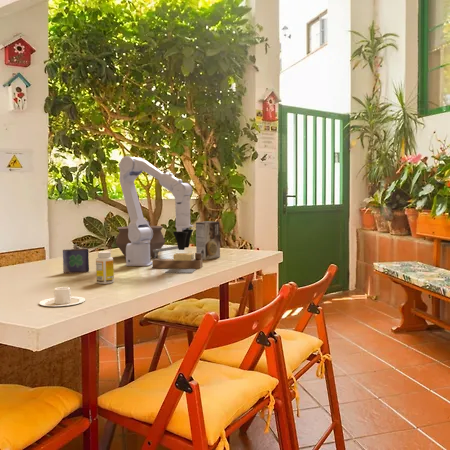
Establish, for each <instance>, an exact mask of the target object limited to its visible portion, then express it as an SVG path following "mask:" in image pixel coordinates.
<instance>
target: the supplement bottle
mask: <svg viewBox="0 0 450 450" xmlns="http://www.w3.org/2000/svg"><path fill="white" fill-rule="evenodd" d="M111 253H112V252H111V251H104V250H102V251H99V252H97V256H98V257H97V258H96V259H95V271H96V275H95V276H96V283H97V284H99V285H107V284H112V283H114V282H115V274H114V272H115V268H114V267H115V266H114V258H113V257H112V254H111Z"/></svg>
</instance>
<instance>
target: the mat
mask: <svg viewBox="0 0 450 450" xmlns="http://www.w3.org/2000/svg"><path fill="white" fill-rule="evenodd" d="M195 271H197V268H168V270H166V271H165V272H164V273H165V274H193V273H195Z"/></svg>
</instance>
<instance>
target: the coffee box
mask: <svg viewBox="0 0 450 450" xmlns="http://www.w3.org/2000/svg"><path fill="white" fill-rule="evenodd" d="M220 235H221V234H220V221H215V220H214V221H213V220H210V221H198V222H195V241H196V245H195V246H196V248H195V249H196V252H195V253H201V259H202V260H211V259H217V258H221V243H220V241H221V240H220V239H221V237H220Z"/></svg>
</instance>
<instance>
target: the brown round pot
mask: <svg viewBox="0 0 450 450" xmlns="http://www.w3.org/2000/svg"><path fill="white" fill-rule="evenodd" d="M146 221H147V222H148V223H149V226H150V227H151V229H152V230H153V237H152V239H151V240H150V259H151V257H152V258H155V253H154V252H153V249H161V248H163V246H164V244H165V243H166V240H165V237H164V235H163V233H162V229H163V228H164V226H162V225H150V224H151V222H150V221H149V220H148V219H147V220H146ZM117 230H118V231H119V232H118V235H117V236H116V240H115V244H116V246H117V247H118V248H119V250H120V251H121V253H122V254H123V255H124V257H125V258H126V246H127V244H128V243H131V241H130V240H129V238H128V225H127V226H118V227H117ZM159 253H160V252H158V254H159Z"/></svg>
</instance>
